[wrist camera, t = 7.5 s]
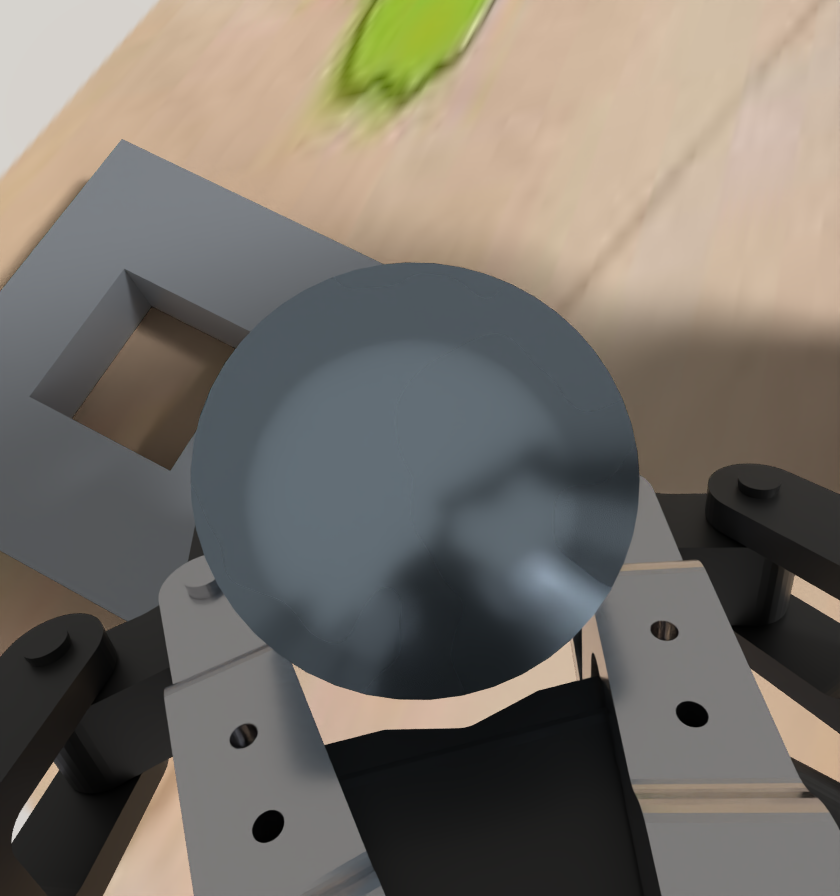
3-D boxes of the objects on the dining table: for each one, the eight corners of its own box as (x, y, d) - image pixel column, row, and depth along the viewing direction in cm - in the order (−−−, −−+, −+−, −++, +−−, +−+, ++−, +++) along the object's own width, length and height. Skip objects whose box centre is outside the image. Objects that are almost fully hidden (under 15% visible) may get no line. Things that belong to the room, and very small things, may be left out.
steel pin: (372, 473, 18) (330, 200, 6) (502, 538, 18) (702, 373, 6) (301, 603, 17) (98, 558, 5) (436, 676, 17) (527, 792, 5)
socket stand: (148, 187, 30) (121, 138, 27) (399, 308, 28) (400, 272, 26) (-83, 489, 25) (-144, 470, 22) (202, 646, 24) (176, 648, 21)
